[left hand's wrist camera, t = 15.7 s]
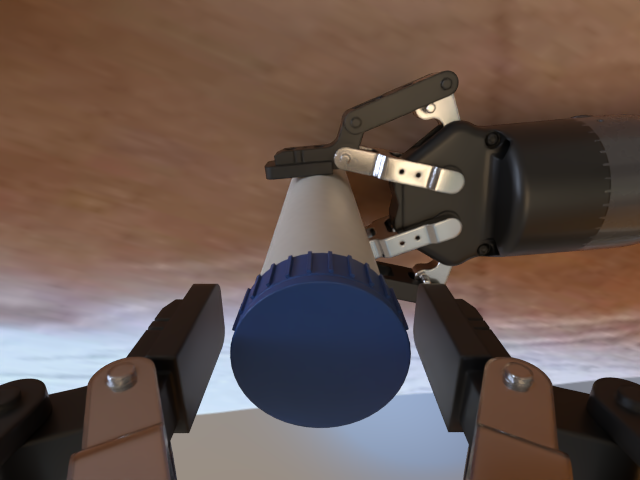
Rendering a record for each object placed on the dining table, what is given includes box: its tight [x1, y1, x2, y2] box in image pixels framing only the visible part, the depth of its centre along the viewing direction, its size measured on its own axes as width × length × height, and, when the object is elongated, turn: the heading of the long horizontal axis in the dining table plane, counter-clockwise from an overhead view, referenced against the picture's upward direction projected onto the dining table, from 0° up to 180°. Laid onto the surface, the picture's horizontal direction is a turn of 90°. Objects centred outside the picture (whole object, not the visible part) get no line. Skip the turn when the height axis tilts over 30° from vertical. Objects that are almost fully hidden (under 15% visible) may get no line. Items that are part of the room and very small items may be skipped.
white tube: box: [260, 169, 380, 276], centre depth 19 cm, size 4×4×19 cm
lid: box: [230, 251, 411, 428], centre depth 10 cm, size 5×5×2 cm
